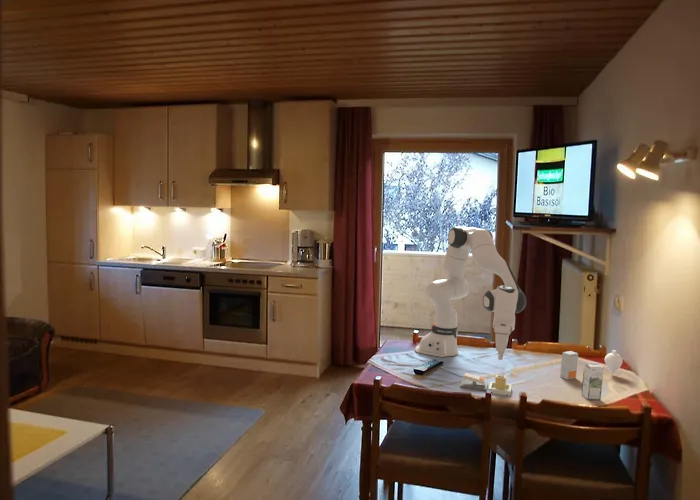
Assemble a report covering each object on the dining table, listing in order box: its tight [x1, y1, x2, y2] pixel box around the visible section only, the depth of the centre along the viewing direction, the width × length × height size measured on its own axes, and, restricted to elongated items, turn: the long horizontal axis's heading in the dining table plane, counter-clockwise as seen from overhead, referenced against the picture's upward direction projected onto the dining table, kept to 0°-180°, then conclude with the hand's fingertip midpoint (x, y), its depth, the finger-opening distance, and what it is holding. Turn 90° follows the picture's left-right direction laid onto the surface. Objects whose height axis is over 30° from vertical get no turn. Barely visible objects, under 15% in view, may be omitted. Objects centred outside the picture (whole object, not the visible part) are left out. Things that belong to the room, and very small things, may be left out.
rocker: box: [462, 372, 487, 384], centre depth 239 cm, size 9×4×2 cm, turn 71°
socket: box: [487, 381, 513, 397], centre depth 235 cm, size 9×9×2 cm
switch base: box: [459, 379, 489, 392], centre depth 239 cm, size 11×8×2 cm
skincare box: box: [559, 350, 579, 380], centre depth 254 cm, size 6×4×12 cm
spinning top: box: [604, 349, 624, 376], centre depth 260 cm, size 8×8×12 cm
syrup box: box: [581, 362, 605, 401], centre depth 230 cm, size 6×6×14 cm
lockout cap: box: [494, 374, 507, 390], centre depth 234 cm, size 4×4×6 cm
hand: (501, 356), depth 233 cm, fingers open, 8 cm apart
